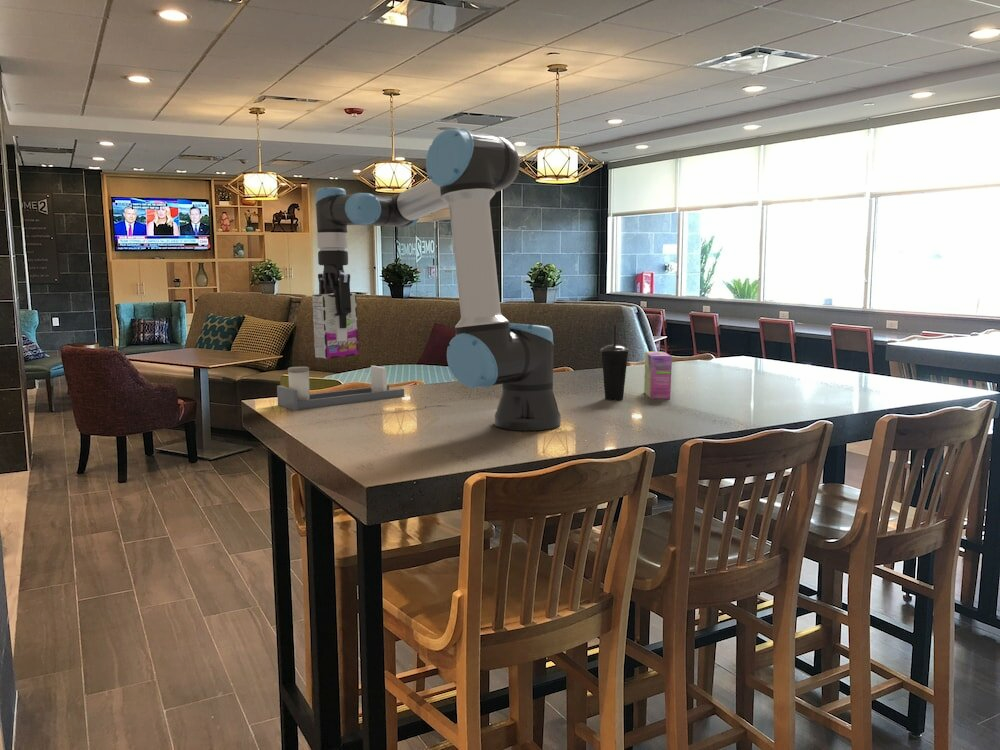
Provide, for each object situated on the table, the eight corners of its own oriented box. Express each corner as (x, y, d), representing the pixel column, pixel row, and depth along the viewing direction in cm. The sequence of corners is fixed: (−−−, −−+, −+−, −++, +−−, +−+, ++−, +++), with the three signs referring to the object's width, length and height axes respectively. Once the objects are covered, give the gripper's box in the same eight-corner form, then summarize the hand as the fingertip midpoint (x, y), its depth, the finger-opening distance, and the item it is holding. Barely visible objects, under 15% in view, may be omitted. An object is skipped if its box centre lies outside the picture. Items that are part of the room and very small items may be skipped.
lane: (405, 400, 215) (405, 378, 214) (294, 414, 195) (293, 390, 195) (386, 395, 223) (386, 374, 222) (278, 409, 203) (277, 385, 202)
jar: (313, 406, 201) (312, 368, 200) (294, 408, 198) (292, 369, 196) (305, 403, 205) (303, 366, 204) (286, 405, 202) (284, 367, 201)
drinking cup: (627, 396, 218) (628, 324, 215) (629, 401, 211) (630, 326, 208) (599, 396, 219) (600, 324, 216) (600, 401, 212) (601, 326, 209)
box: (671, 399, 215) (672, 355, 213) (650, 399, 215) (650, 355, 213) (664, 392, 225) (665, 351, 223) (643, 392, 225) (644, 351, 223)
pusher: (394, 396, 215) (394, 367, 214) (383, 397, 213) (382, 368, 211) (382, 393, 220) (381, 364, 219) (371, 394, 218) (370, 365, 217)
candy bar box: (346, 353, 212) (344, 292, 210) (359, 355, 209) (357, 293, 207) (313, 357, 204) (311, 293, 201) (325, 359, 201) (324, 294, 198)
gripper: (363, 249, 197) (366, 341, 201) (329, 250, 212) (332, 336, 215) (336, 249, 193) (339, 343, 196) (303, 250, 208) (306, 338, 211)
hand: (336, 339), depth 206 cm, fingers closed on candy bar box, 6 cm apart
